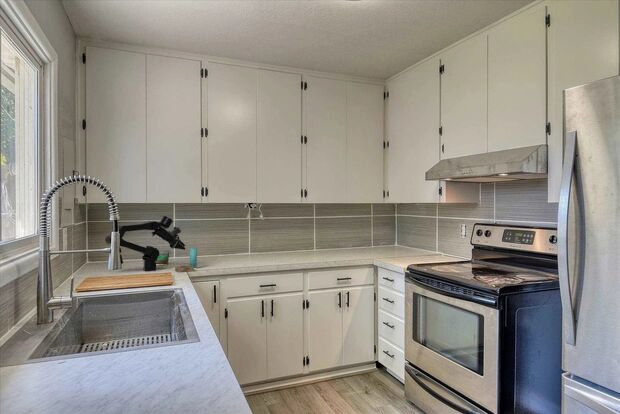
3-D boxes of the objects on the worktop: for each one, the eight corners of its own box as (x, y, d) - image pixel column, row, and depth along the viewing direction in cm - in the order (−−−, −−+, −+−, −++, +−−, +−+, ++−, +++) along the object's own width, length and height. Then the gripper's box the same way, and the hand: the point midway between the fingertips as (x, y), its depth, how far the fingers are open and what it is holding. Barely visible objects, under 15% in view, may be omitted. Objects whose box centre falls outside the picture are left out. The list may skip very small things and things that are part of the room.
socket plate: (179, 272, 231) (179, 268, 231) (175, 270, 238) (175, 266, 238) (193, 271, 236) (193, 267, 236) (189, 269, 243) (189, 265, 243)
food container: (150, 265, 259) (150, 250, 259) (151, 264, 265) (151, 250, 265) (169, 265, 262) (169, 250, 262) (170, 264, 268) (170, 249, 268)
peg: (190, 269, 245) (191, 248, 245) (188, 268, 249) (189, 248, 249) (197, 268, 248) (198, 248, 248) (195, 267, 251) (195, 248, 251)
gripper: (171, 226, 235) (193, 240, 241) (172, 221, 253) (192, 234, 258) (160, 241, 234) (182, 254, 240) (161, 235, 252) (182, 248, 257)
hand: (185, 247), depth 249 cm, fingers open, 9 cm apart
